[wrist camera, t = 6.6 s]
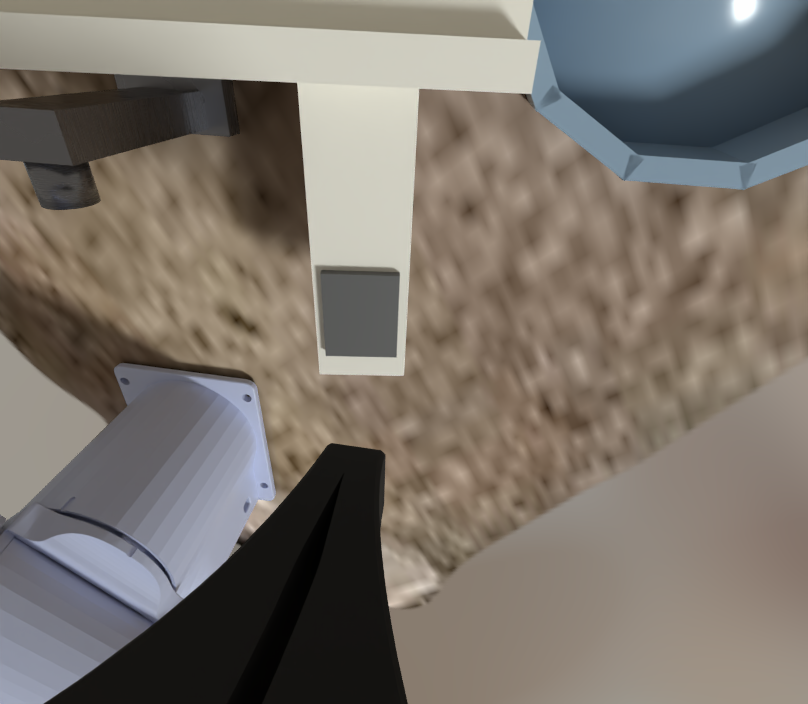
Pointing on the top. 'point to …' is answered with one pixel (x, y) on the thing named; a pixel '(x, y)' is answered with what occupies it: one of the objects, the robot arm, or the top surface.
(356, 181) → the lever
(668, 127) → the blue bowl
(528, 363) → the top surface
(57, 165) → the stand
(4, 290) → the top surface
